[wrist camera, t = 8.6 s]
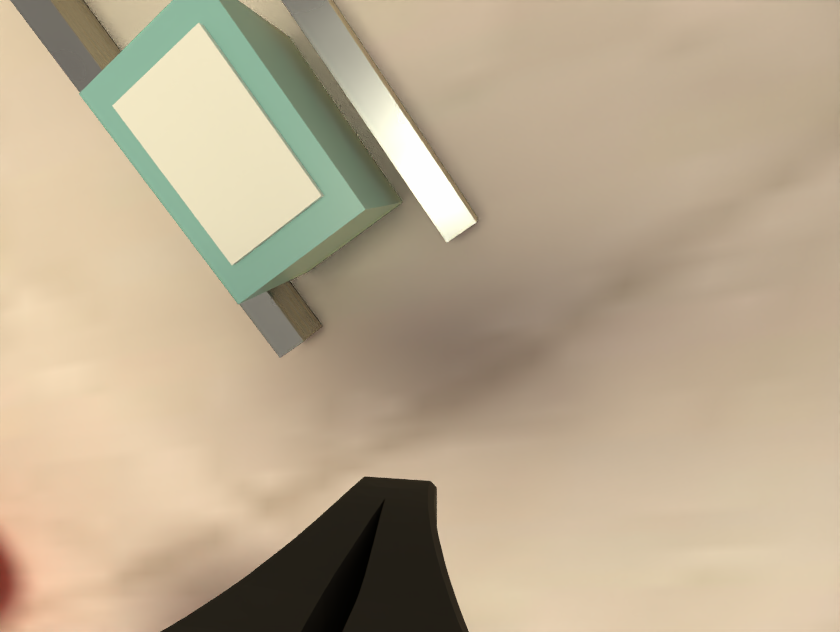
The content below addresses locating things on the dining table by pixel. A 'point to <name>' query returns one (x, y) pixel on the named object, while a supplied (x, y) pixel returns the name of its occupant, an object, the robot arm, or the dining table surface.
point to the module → (239, 143)
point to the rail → (359, 79)
